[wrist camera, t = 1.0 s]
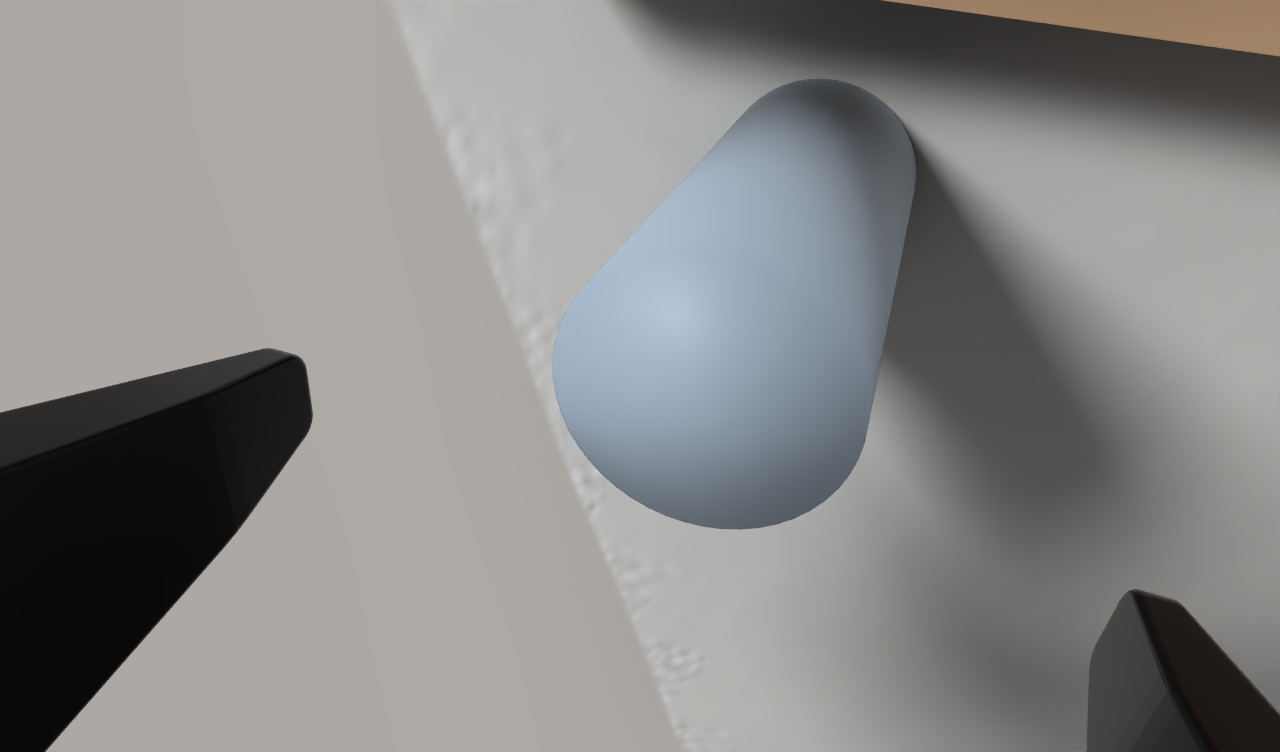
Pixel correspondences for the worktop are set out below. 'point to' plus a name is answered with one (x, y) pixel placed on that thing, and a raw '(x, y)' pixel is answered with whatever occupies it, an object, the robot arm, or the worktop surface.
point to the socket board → (1146, 18)
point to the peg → (747, 315)
